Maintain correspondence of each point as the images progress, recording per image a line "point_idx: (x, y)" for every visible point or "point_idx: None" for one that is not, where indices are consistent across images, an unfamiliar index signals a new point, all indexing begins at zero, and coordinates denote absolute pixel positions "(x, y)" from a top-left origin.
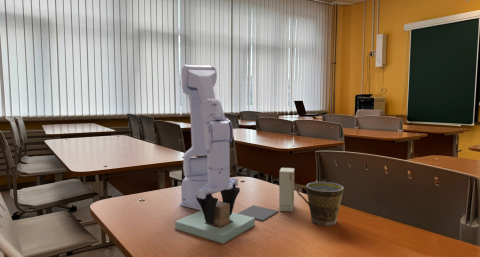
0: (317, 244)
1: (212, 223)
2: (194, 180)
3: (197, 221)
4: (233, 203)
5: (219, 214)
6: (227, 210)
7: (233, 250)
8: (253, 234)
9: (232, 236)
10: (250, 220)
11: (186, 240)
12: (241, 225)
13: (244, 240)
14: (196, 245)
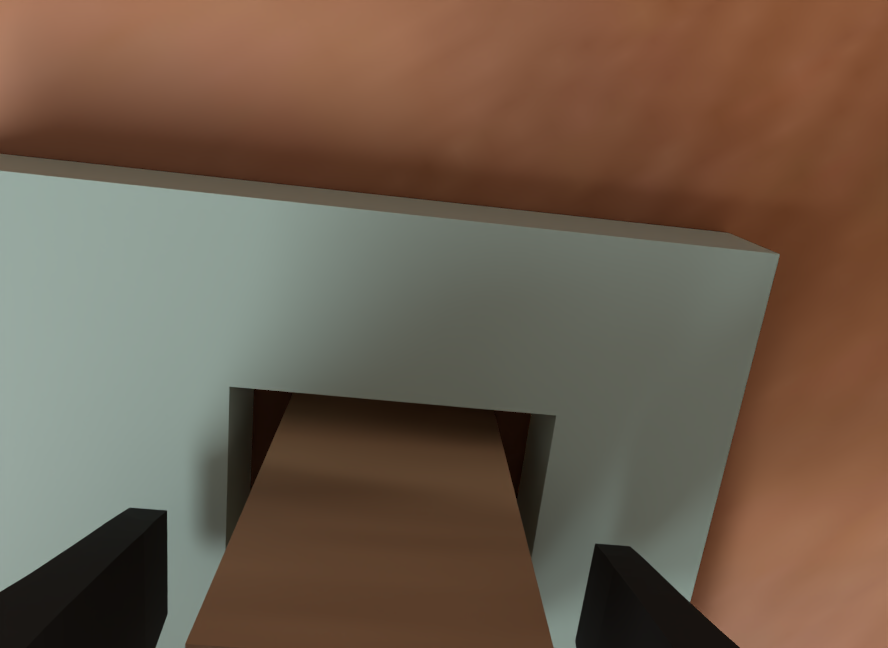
0: None
1: (625, 548)
2: None
3: None
4: (6, 612)
5: (526, 579)
6: (300, 555)
7: (856, 17)
8: (279, 4)
9: (540, 216)
10: (31, 173)
11: (791, 615)
12: (312, 202)
13: (523, 29)
14: (867, 469)
